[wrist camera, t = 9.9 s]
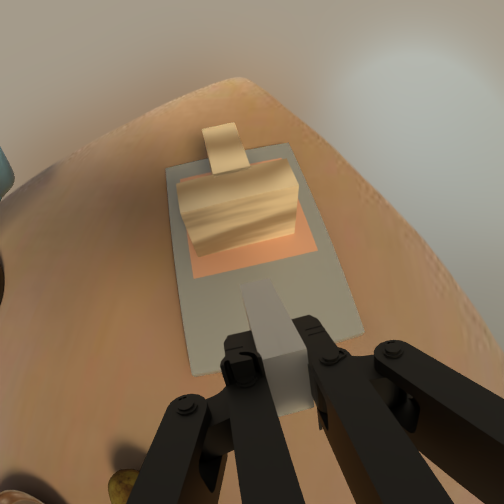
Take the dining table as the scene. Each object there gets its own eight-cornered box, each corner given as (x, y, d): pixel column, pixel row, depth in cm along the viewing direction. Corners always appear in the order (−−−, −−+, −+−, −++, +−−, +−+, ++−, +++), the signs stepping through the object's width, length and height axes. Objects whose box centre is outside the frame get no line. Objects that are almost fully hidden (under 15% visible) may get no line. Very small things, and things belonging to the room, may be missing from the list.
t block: (294, 233, 40) (299, 185, 32) (198, 257, 39) (180, 213, 31) (267, 165, 46) (265, 115, 38) (185, 184, 45) (169, 137, 37)
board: (361, 335, 34) (364, 332, 33) (195, 376, 33) (192, 375, 32) (288, 149, 49) (288, 142, 48) (167, 175, 48) (165, 168, 47)
